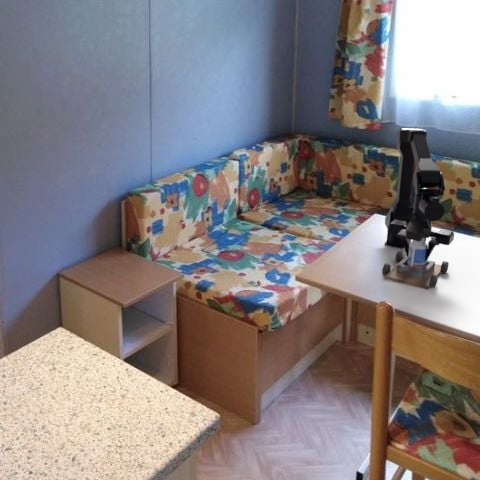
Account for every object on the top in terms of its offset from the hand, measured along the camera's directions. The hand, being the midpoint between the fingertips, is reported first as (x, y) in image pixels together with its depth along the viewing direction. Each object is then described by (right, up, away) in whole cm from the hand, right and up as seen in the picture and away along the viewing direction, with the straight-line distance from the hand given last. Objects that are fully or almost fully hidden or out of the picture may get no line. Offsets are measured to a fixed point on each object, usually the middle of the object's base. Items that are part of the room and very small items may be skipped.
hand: (417, 258), depth 205 cm
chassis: (0, -5, +2) cm, 5 cm away
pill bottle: (0, -3, +1) cm, 3 cm away
